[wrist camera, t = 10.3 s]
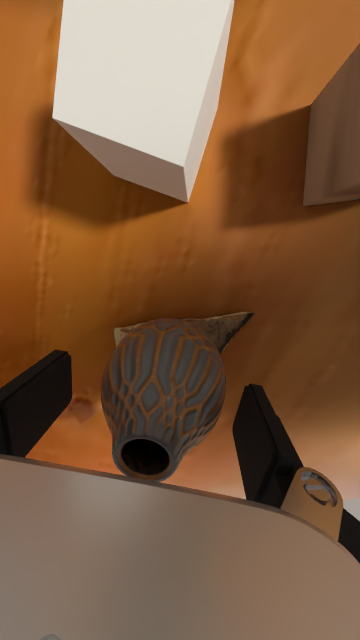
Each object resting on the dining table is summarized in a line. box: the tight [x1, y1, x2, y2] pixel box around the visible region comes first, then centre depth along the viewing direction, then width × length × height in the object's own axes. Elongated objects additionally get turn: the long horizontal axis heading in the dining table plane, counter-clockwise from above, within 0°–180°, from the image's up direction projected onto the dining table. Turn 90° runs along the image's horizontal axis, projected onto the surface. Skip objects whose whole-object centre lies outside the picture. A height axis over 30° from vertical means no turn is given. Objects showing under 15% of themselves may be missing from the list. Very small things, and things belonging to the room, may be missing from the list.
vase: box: [101, 318, 226, 482], centre depth 11 cm, size 7×7×9 cm
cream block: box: [52, 0, 235, 203], centre depth 10 cm, size 5×5×6 cm
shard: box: [114, 312, 254, 354], centre depth 17 cm, size 11×8×2 cm
